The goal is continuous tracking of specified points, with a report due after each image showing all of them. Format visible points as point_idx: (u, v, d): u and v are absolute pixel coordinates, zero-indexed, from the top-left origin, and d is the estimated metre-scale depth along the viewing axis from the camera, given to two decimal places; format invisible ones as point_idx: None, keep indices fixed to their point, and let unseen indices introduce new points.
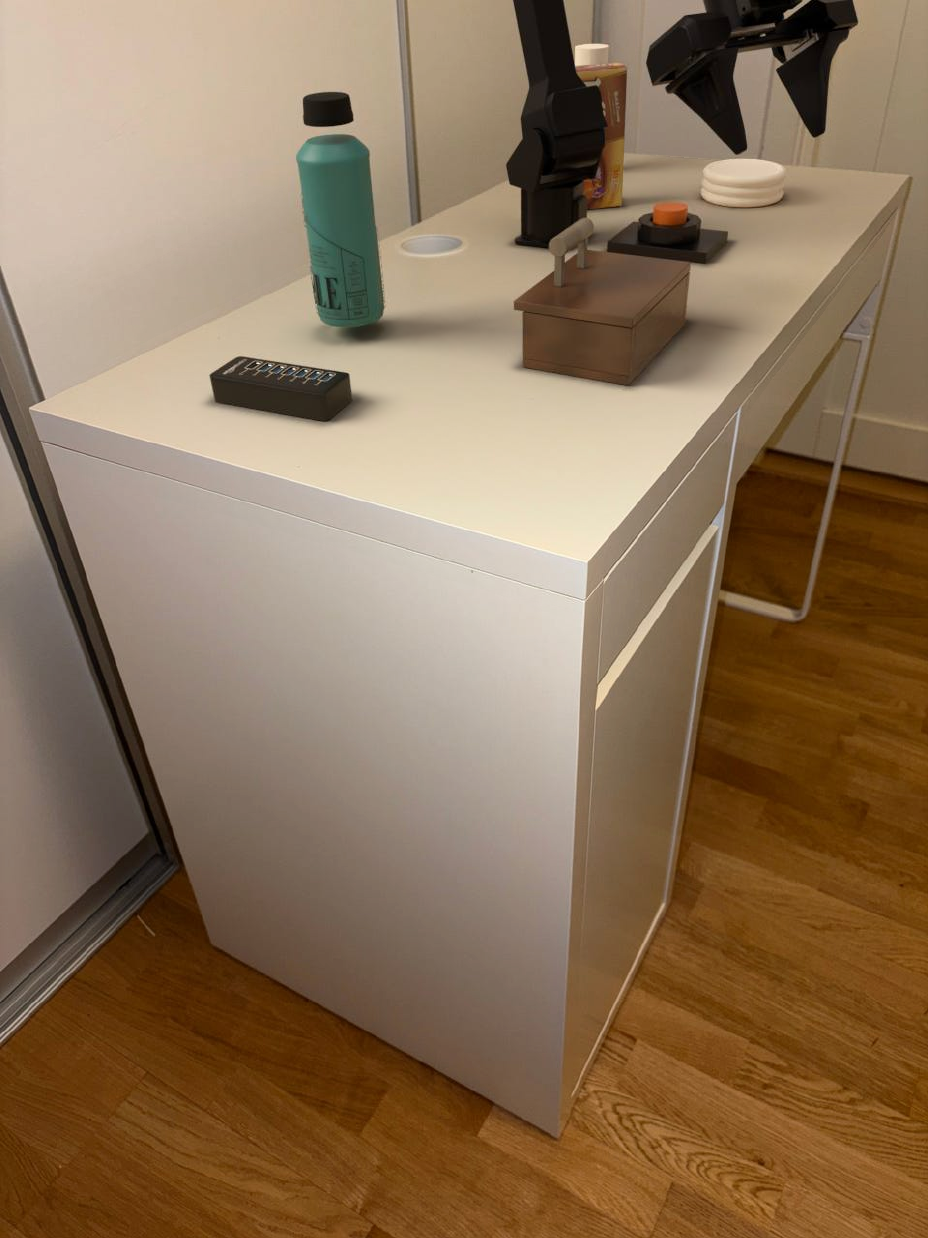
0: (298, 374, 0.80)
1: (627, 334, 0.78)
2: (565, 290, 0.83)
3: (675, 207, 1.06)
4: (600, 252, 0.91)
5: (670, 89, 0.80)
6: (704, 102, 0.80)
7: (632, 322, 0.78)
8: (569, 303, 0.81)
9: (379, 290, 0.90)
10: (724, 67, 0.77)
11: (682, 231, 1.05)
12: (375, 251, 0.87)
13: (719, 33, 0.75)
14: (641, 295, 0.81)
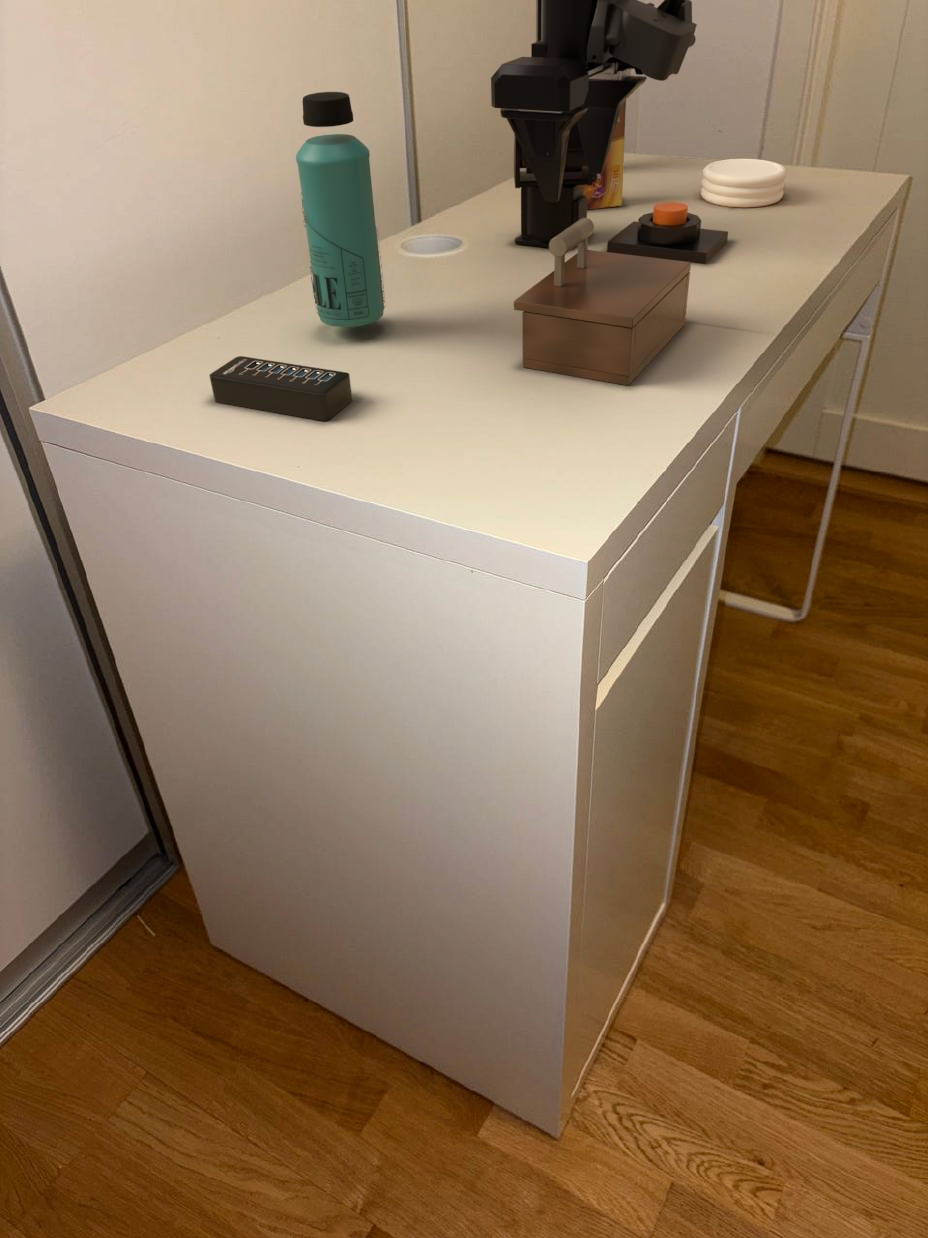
0: (298, 374, 0.80)
1: (627, 334, 0.78)
2: (565, 290, 0.83)
3: (675, 207, 1.06)
4: (600, 252, 0.91)
5: (508, 117, 0.73)
6: (533, 139, 0.75)
7: (632, 322, 0.78)
8: (569, 303, 0.81)
9: (379, 290, 0.90)
10: (570, 124, 0.73)
11: (682, 231, 1.05)
12: (375, 251, 0.87)
13: (580, 94, 0.71)
14: (641, 295, 0.81)
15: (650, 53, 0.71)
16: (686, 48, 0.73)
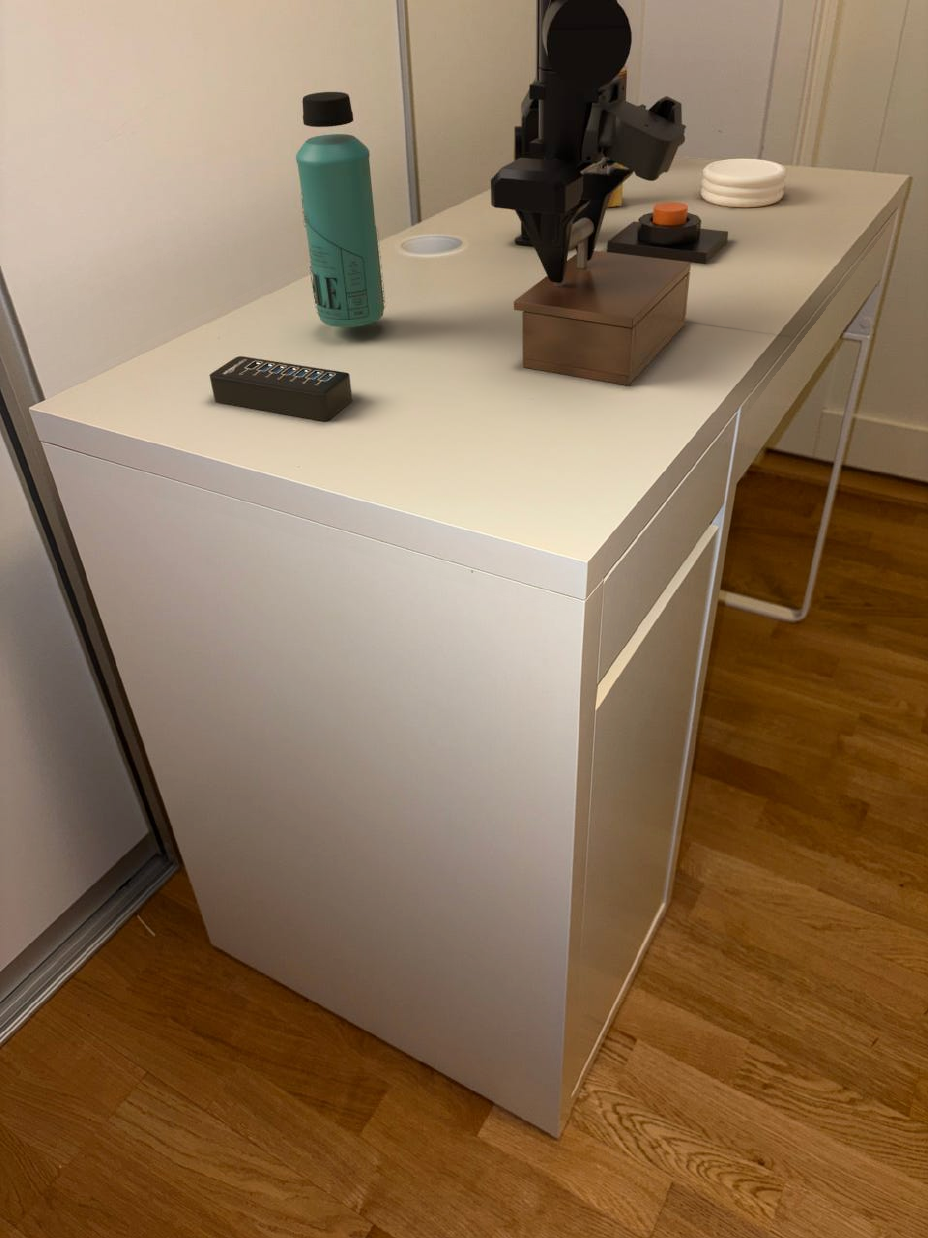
0: (298, 374, 0.80)
1: (627, 334, 0.78)
2: (565, 290, 0.83)
3: (675, 207, 1.06)
4: (600, 252, 0.91)
5: None
6: (538, 227, 0.80)
7: (632, 322, 0.78)
8: (569, 303, 0.81)
9: (379, 290, 0.90)
10: (574, 216, 0.78)
11: (682, 231, 1.05)
12: (375, 251, 0.87)
13: (575, 196, 0.75)
14: (641, 295, 0.81)
15: (641, 156, 0.75)
16: (676, 149, 0.77)
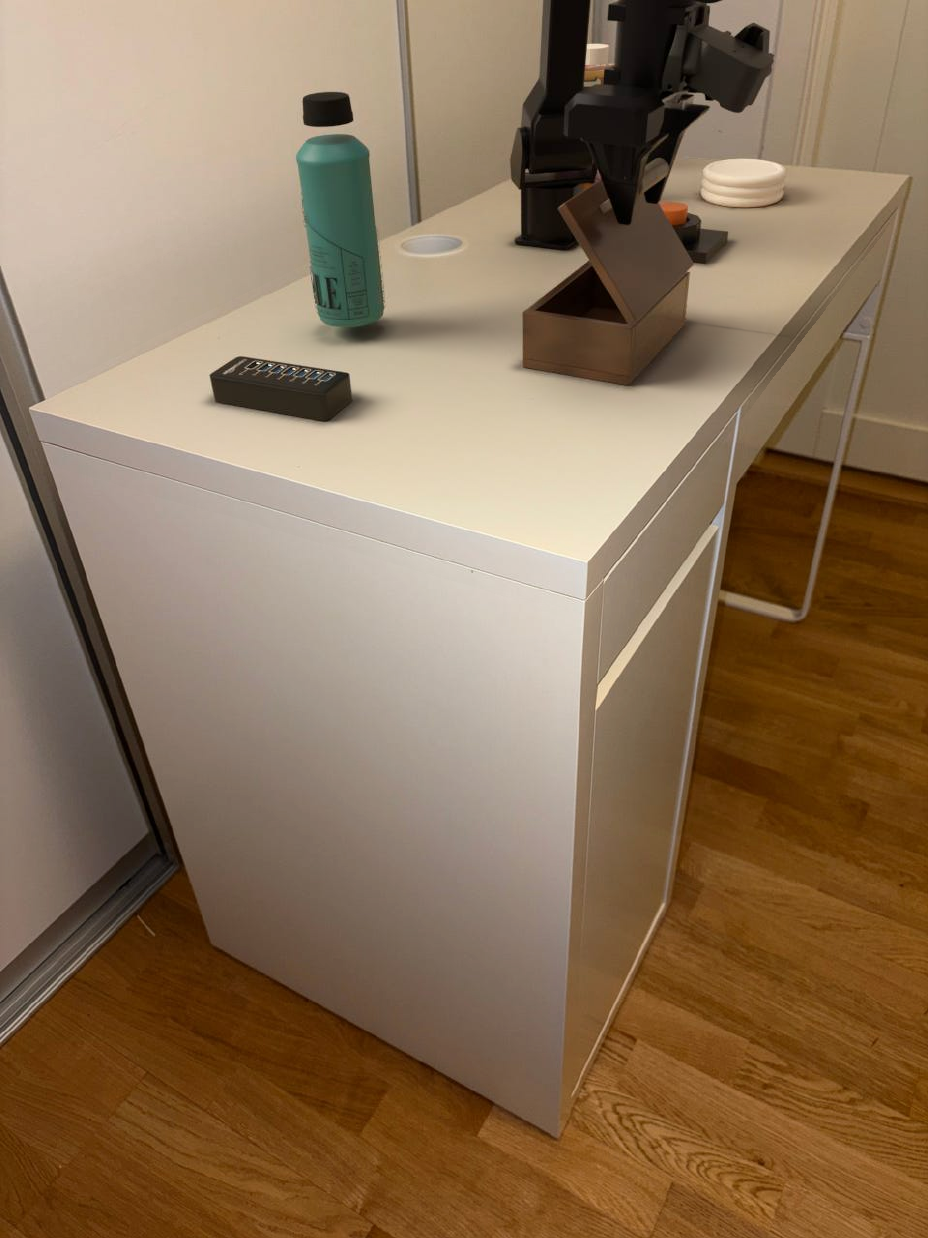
0: (298, 374, 0.80)
1: (627, 334, 0.78)
2: (604, 224, 0.78)
3: (675, 207, 1.06)
4: None
5: (588, 141, 0.72)
6: (610, 163, 0.74)
7: (632, 322, 0.78)
8: (602, 250, 0.77)
9: (379, 290, 0.90)
10: (650, 150, 0.72)
11: (682, 231, 1.05)
12: (375, 251, 0.87)
13: (656, 126, 0.69)
14: (650, 288, 0.81)
15: (728, 85, 0.70)
16: (763, 80, 0.71)
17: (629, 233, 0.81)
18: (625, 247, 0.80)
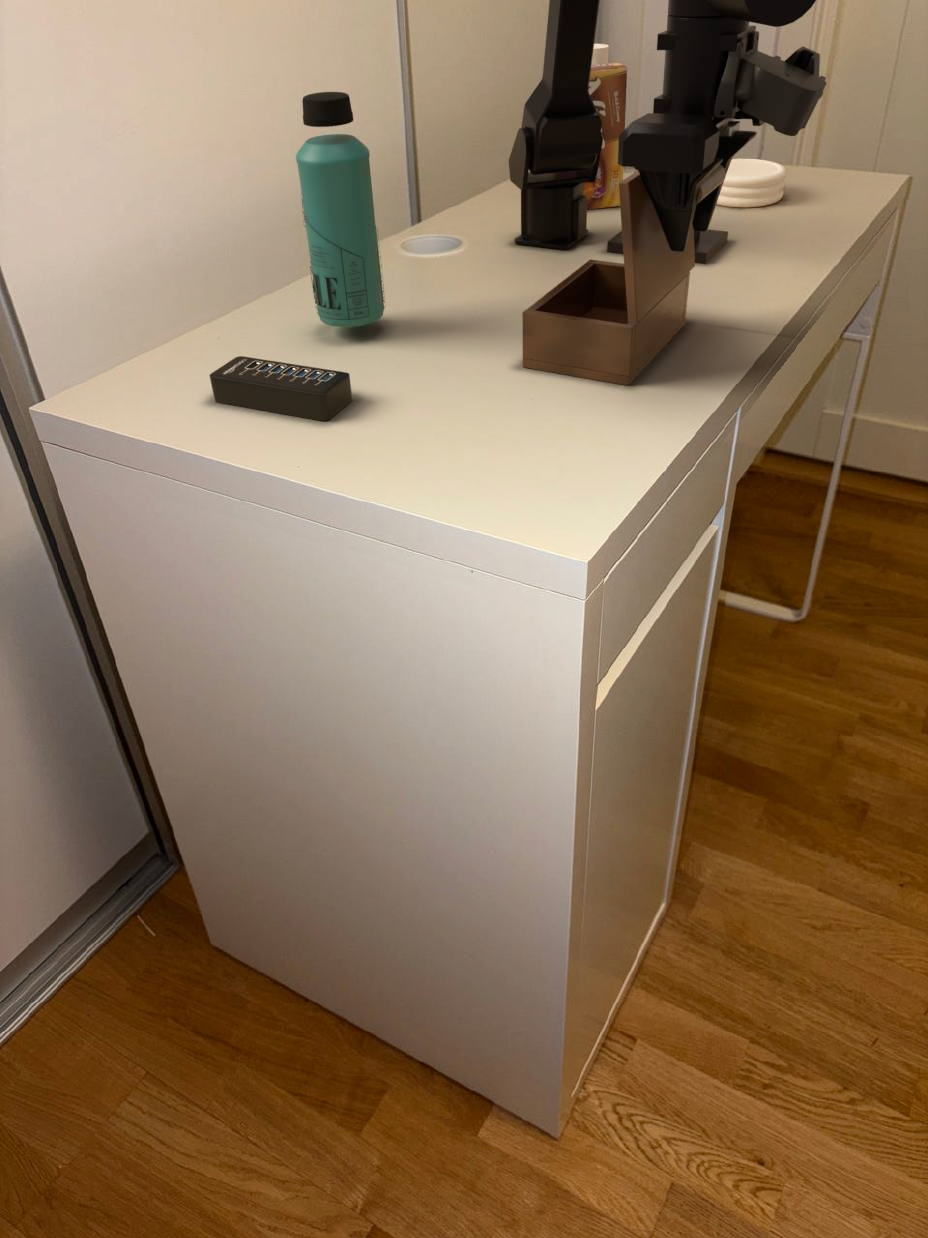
0: (298, 374, 0.80)
1: (627, 334, 0.78)
2: (648, 212, 0.76)
3: None
4: None
5: (641, 169, 0.72)
6: (663, 190, 0.74)
7: (633, 322, 0.78)
8: (637, 241, 0.75)
9: (379, 290, 0.90)
10: (705, 176, 0.72)
11: None
12: (375, 251, 0.87)
13: (712, 152, 0.69)
14: (657, 289, 0.80)
15: (783, 109, 0.69)
16: (816, 102, 0.71)
17: None
18: (654, 240, 0.78)
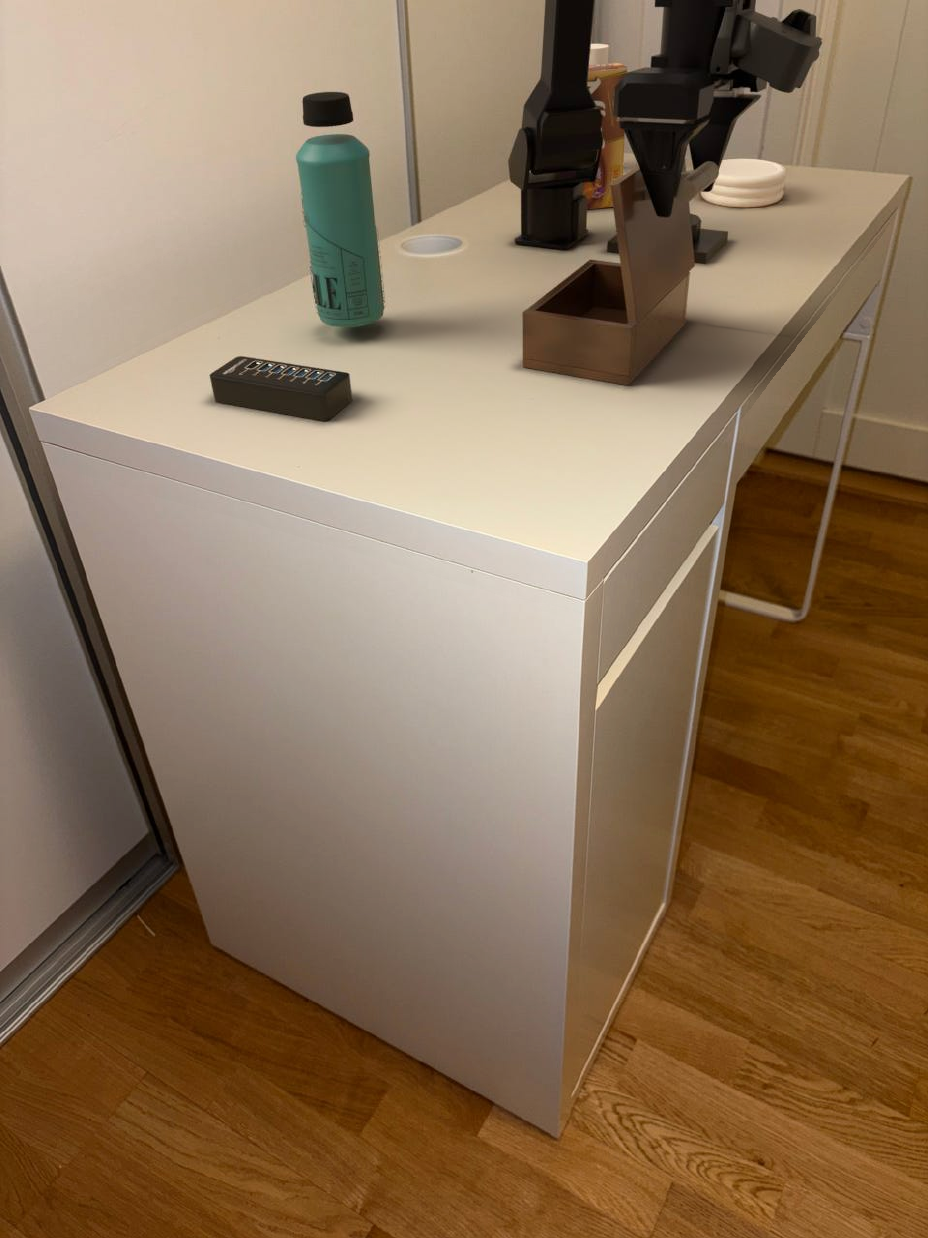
0: (298, 374, 0.80)
1: (627, 334, 0.78)
2: (642, 212, 0.76)
3: None
4: (684, 165, 0.83)
5: (627, 128, 0.71)
6: (649, 152, 0.73)
7: (633, 322, 0.78)
8: (633, 241, 0.75)
9: (379, 290, 0.90)
10: (691, 136, 0.71)
11: None
12: (375, 251, 0.87)
13: (707, 104, 0.69)
14: (657, 288, 0.80)
15: (778, 64, 0.70)
16: (812, 61, 0.71)
17: (658, 225, 0.79)
18: (651, 240, 0.78)
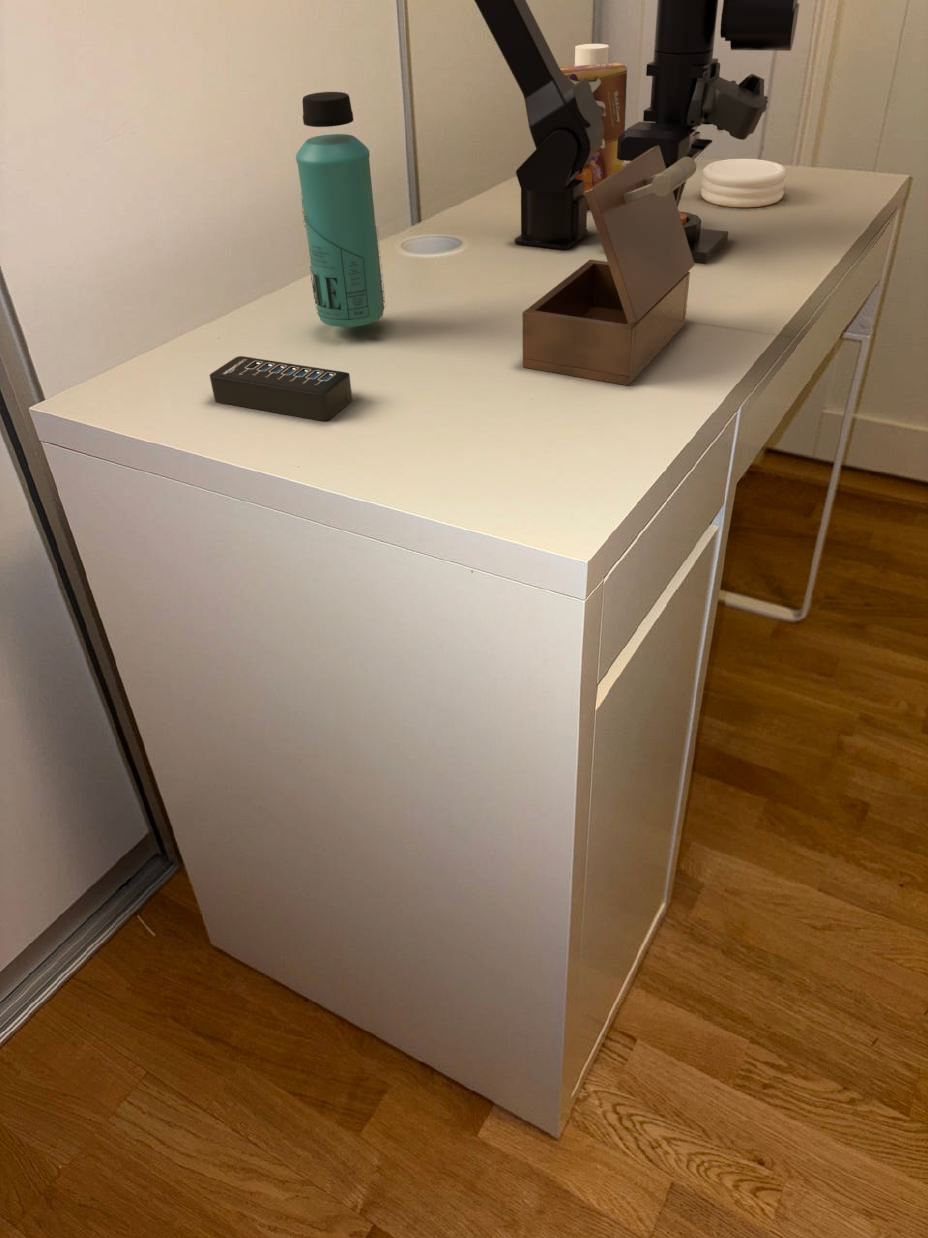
0: (298, 374, 0.80)
1: (627, 334, 0.78)
2: (624, 215, 0.77)
3: None
4: (664, 169, 0.84)
5: None
6: None
7: (633, 322, 0.78)
8: (618, 243, 0.76)
9: (379, 290, 0.90)
10: None
11: None
12: (375, 251, 0.87)
13: (684, 151, 0.96)
14: (654, 288, 0.80)
15: (735, 120, 0.96)
16: (760, 115, 0.98)
17: (644, 227, 0.80)
18: (638, 242, 0.79)
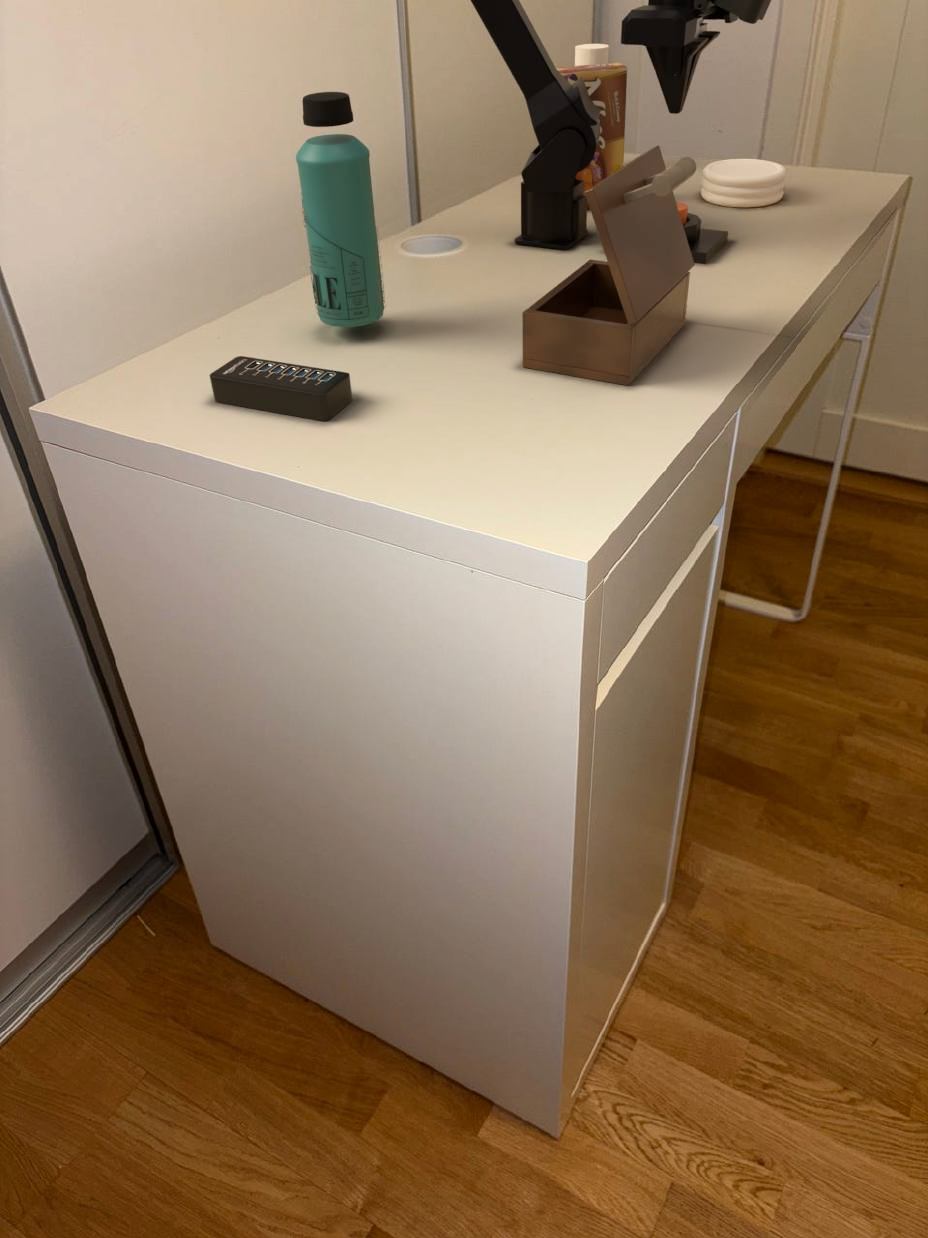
0: (298, 374, 0.80)
1: (627, 334, 0.78)
2: (624, 215, 0.77)
3: None
4: (664, 169, 0.84)
5: (648, 45, 0.97)
6: (664, 63, 0.99)
7: (633, 322, 0.78)
8: (618, 243, 0.76)
9: (379, 290, 0.90)
10: (695, 50, 0.97)
11: None
12: (375, 251, 0.87)
13: (691, 33, 0.92)
14: (654, 288, 0.80)
15: (744, 2, 0.92)
16: None
17: (644, 227, 0.80)
18: (638, 242, 0.79)
